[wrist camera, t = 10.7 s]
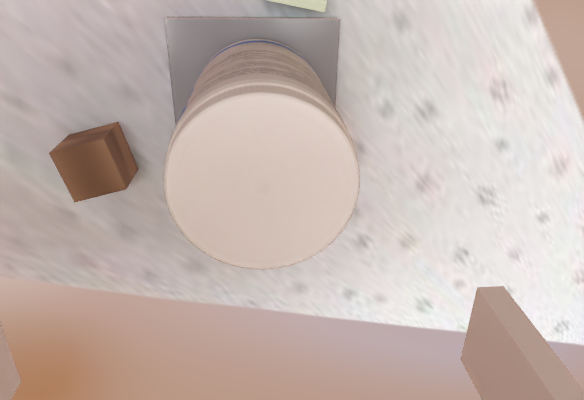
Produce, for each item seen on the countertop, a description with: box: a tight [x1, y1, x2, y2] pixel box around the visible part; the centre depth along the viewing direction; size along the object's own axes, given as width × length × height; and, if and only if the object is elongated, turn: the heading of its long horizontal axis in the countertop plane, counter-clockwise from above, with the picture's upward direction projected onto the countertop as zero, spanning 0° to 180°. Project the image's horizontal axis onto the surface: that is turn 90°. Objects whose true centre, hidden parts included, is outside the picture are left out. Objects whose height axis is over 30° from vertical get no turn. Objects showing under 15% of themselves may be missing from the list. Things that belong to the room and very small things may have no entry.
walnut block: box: [49, 122, 138, 202], centre depth 35 cm, size 4×4×4 cm
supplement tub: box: [164, 39, 360, 269], centre depth 28 cm, size 10×10×15 cm
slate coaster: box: [165, 17, 340, 124], centre depth 35 cm, size 12×12×1 cm
